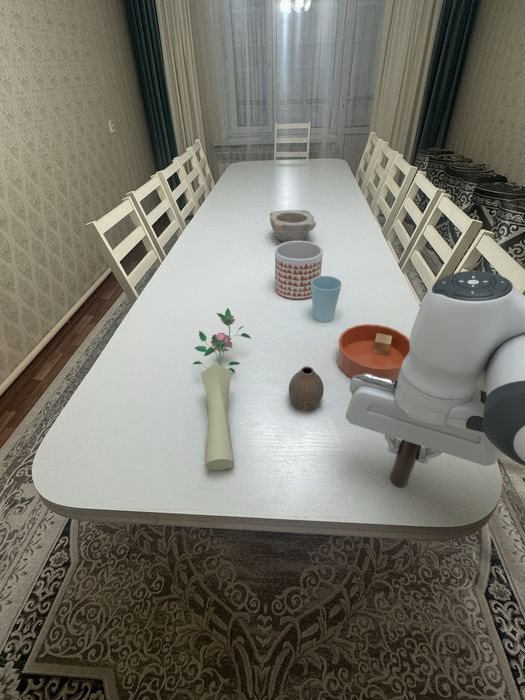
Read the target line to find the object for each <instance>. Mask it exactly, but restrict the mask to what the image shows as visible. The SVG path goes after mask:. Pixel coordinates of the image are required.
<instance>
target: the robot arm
mask: <svg viewBox="0 0 525 700" xmlns="http://www.w3.org/2000/svg"><path fill="white" fill-rule="evenodd" d="M408 339H409V347H410V350H409V353H408V354H407V356H406V357H405V358H404V360H403V362H402V366H401V369H400V372H399V376H398V379H397V381H396V380H392V379H388V378H384V377H383V378H382V377H378V376H374V375H373V374H369V373H363V375H362V374H359V375H355V376H353V377H352V379H351V378H350V382H349V392H350V393H351V398H350V401H349V403H348V406H347V409H346V413H345V419H346V420H347V421H348V422H349V424H351V425H353V426H357V427H360V428H364V429H366V430H370V431H372V432H376V433H378V434H383V435H384V440H385V441H386V443H387V445H388V449H387V452H388V453H392V454H394V455H397V454H398V451H399V449H400V443H401V440H404V441H408V442H411V443H414V444H417V445H420V446H421V448H420V451H419V454H418V457H417V459H416V462H418V463H421V464H425V465H427V464H428V463H429V461H430V459H434V458H436V457H439V456H441V455H442V454H446V455H449V456H453V457H455V458H458V459H462V460H465V461H469V462H472V463H475V464H477V465H481V466H484V467H487V466H492V465H495V464H496V463H497V462H498V460H499V458H500V456H501V455H502V454H503V455H504V456H506V457H507V458H509V459H510V460H512V461H513V462H516V463H517V464H519V465H521V466H523V467H525V295H524V294H523V293H522V292H520V290H518V289H517V287H516V286H515V285H514V283H513V282H512V281H511V280H509V278H506V277H505V276H503V275H500V274H497V273H493V272H489V271H482V270H466V271H459V272H455V273H451V274H448V275H446V276H444V277H441V278H440V279H439V280H437V281H436V282H435V283H434V284H433V285H432V286H431V287H430V288H429V289H428V291H427V293H426V294H425V296H424V298H423V300H422V301H421V304H420V306H419V309H418V311H417V314H416V317H415V319H414V322H413V325H412V328H411V331H410V336H409V338H408Z"/></svg>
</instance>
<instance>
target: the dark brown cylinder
mask: <svg viewBox="0 0 525 700" xmlns="http://www.w3.org/2000/svg"><path fill="white" fill-rule="evenodd" d="M400 440H401V439H400ZM421 447H422V446H420V445H417V444H414V443H411V442H408V441H404V440H401V443H400V449H399V451H398V454H396V457H395V460H394V462H393V465H392V468H391V472H390V475H389V480H390V482H391V483H392V485H393V486H394V487H395V486H396V487H398V488H405V487H406V486H407V485H408V483H409V481H410V478H411V475H412V473H413V470H414V467H415V464H416V462H417V461H416V460H417V457H418V454H419V451H420V448H421Z"/></svg>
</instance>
